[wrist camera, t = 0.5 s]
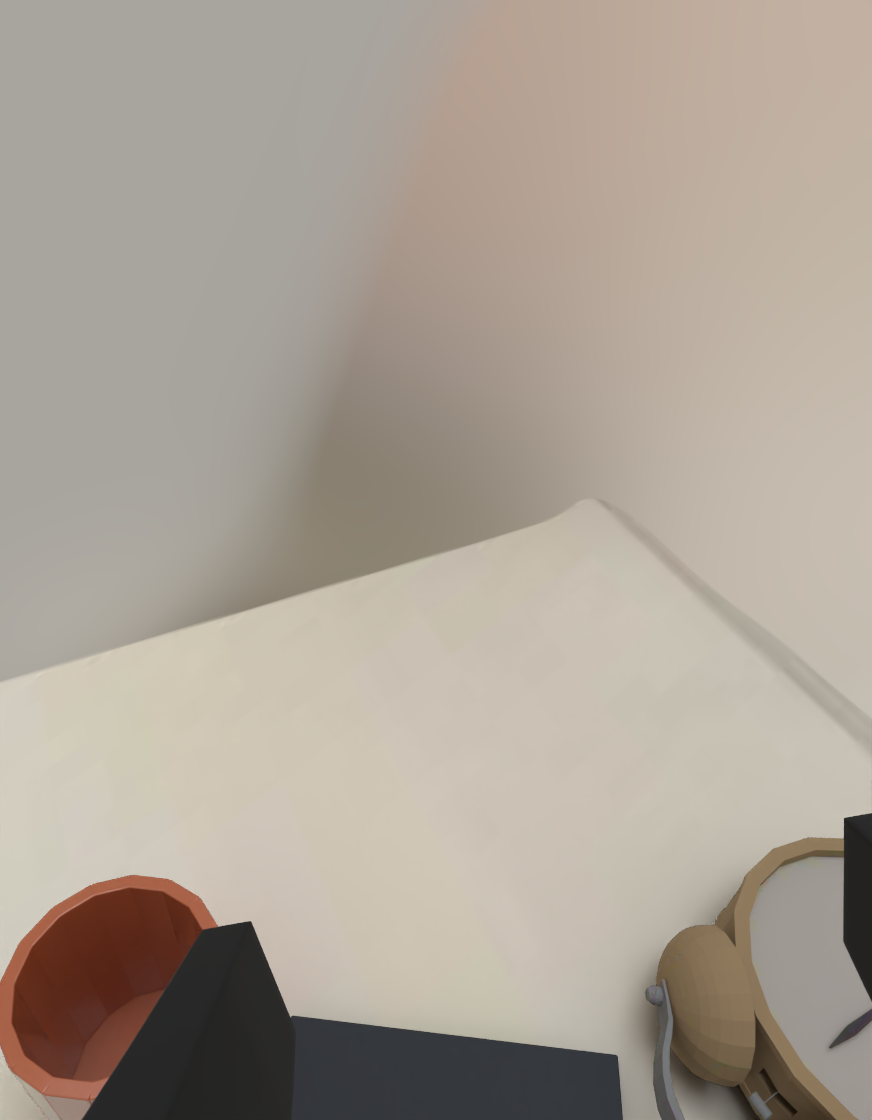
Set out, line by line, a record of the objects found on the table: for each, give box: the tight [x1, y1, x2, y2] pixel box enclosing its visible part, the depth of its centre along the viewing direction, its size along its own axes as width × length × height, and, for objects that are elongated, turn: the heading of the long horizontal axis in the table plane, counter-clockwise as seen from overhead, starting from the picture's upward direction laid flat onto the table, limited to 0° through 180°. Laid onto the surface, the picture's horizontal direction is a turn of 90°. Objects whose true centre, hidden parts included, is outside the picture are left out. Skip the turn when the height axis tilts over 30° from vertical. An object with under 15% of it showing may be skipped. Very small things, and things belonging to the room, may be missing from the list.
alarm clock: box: [645, 838, 872, 1120], centre depth 26 cm, size 11×5×15 cm
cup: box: [0, 875, 218, 1120], centre depth 23 cm, size 6×6×8 cm
